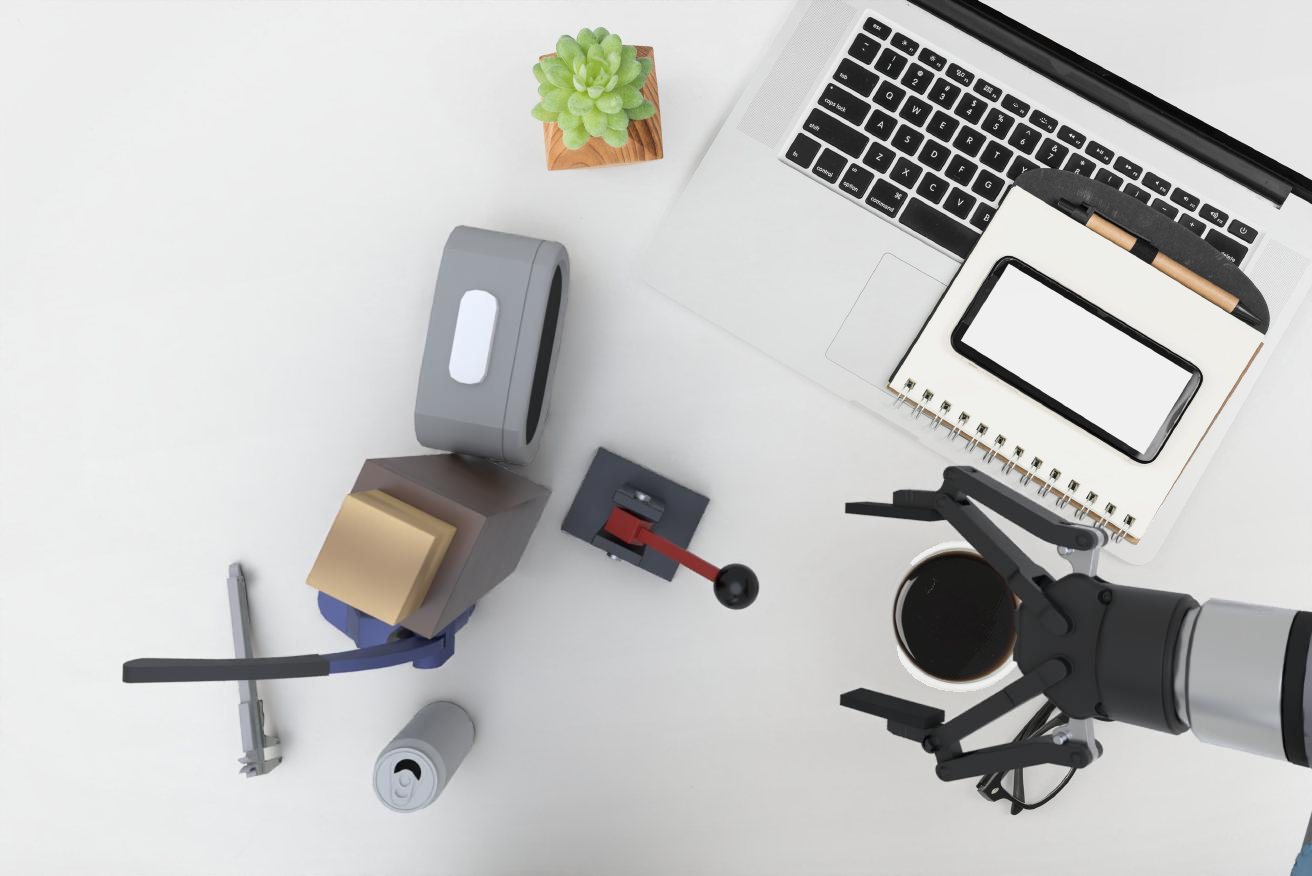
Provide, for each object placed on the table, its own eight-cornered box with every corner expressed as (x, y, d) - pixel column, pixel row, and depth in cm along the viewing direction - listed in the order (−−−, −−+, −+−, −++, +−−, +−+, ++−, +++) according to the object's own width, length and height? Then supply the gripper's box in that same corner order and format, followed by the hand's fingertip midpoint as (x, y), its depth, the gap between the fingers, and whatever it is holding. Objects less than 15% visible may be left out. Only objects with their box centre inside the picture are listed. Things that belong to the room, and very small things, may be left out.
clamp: (491, 557, 83) (396, 619, 55) (489, 645, 83) (392, 751, 55) (305, 551, 83) (117, 608, 55) (303, 637, 83) (113, 739, 55)
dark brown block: (514, 571, 83) (430, 639, 55) (433, 532, 83) (308, 581, 55) (552, 490, 83) (488, 517, 55) (471, 451, 83) (366, 458, 55)
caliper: (285, 760, 83) (253, 786, 77) (274, 762, 83) (242, 788, 77) (241, 562, 83) (205, 572, 77) (230, 564, 83) (194, 575, 77)
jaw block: (419, 609, 55) (393, 626, 50) (338, 570, 55) (304, 583, 50) (457, 527, 55) (435, 536, 50) (376, 488, 55) (346, 493, 50)
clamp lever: (773, 577, 66) (757, 574, 62) (753, 618, 66) (737, 618, 63) (634, 503, 73) (614, 497, 69) (617, 540, 73) (596, 536, 69)
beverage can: (483, 709, 83) (450, 755, 71) (466, 770, 83) (430, 827, 71) (422, 691, 83) (379, 734, 71) (405, 753, 83) (359, 806, 71)
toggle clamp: (709, 498, 82) (715, 510, 68) (670, 580, 82) (669, 608, 68) (600, 446, 82) (585, 448, 69) (562, 528, 83) (538, 546, 69)
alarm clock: (540, 464, 83) (512, 469, 69) (447, 446, 83) (402, 448, 69) (576, 261, 82) (556, 226, 69) (483, 244, 83) (445, 207, 69)
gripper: (1208, 875, 47) (876, 761, 62) (1220, 434, 47) (885, 429, 62) (1168, 927, 42) (817, 789, 57) (1181, 430, 42) (827, 427, 57)
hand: (852, 601), depth 60 cm, fingers open, 13 cm apart
